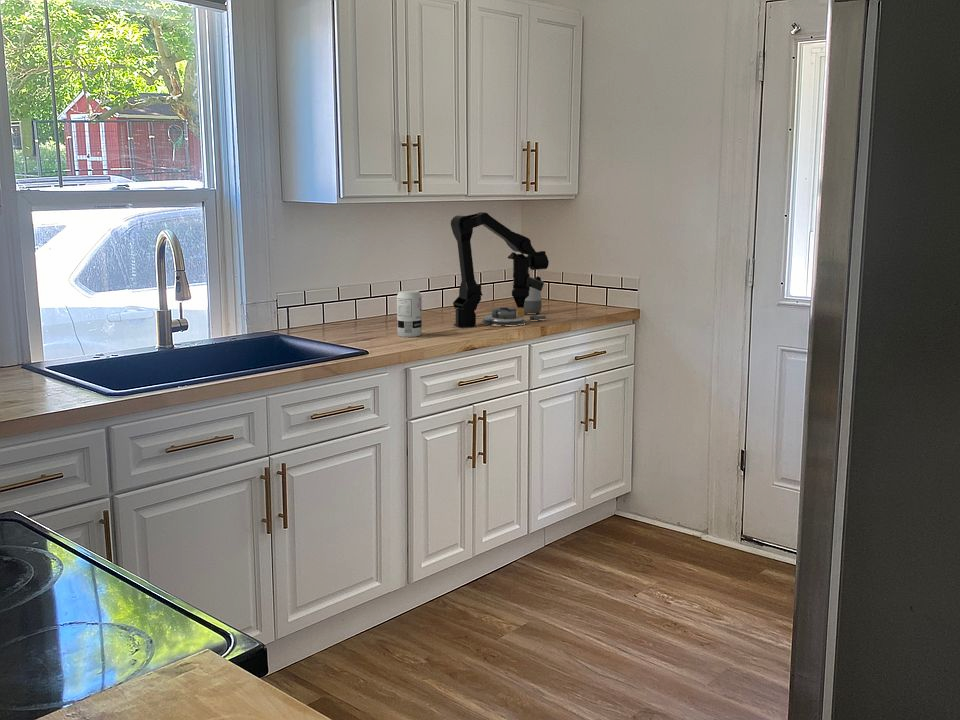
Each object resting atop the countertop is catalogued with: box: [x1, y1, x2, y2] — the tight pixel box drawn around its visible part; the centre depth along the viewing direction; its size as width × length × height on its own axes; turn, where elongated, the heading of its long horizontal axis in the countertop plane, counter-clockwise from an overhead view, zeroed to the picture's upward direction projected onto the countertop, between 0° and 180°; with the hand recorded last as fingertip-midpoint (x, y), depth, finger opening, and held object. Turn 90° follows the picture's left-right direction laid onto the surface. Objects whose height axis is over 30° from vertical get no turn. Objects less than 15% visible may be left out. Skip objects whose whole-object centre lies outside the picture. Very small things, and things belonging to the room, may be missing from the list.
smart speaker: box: [524, 287, 543, 314], centre depth 378 cm, size 10×9×14 cm
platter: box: [483, 307, 525, 323], centre depth 351 cm, size 15×15×5 cm
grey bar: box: [529, 314, 547, 321], centre depth 360 cm, size 6×2×2 cm, turn 131°
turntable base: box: [481, 319, 527, 326], centre depth 352 cm, size 16×16×1 cm
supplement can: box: [396, 290, 423, 338], centre depth 322 cm, size 8×8×15 cm
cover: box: [491, 306, 517, 319], centre depth 351 cm, size 9×9×3 cm
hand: (521, 312), depth 354 cm, fingers closed
